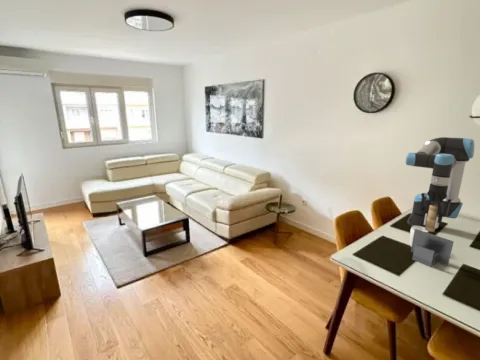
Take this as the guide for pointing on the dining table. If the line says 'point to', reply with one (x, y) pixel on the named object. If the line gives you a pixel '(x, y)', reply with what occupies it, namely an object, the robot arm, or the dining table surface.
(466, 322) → the dining table surface
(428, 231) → the cup
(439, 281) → the dining table surface
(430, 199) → the robot arm
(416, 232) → the bracket
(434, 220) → the wooden dowel
